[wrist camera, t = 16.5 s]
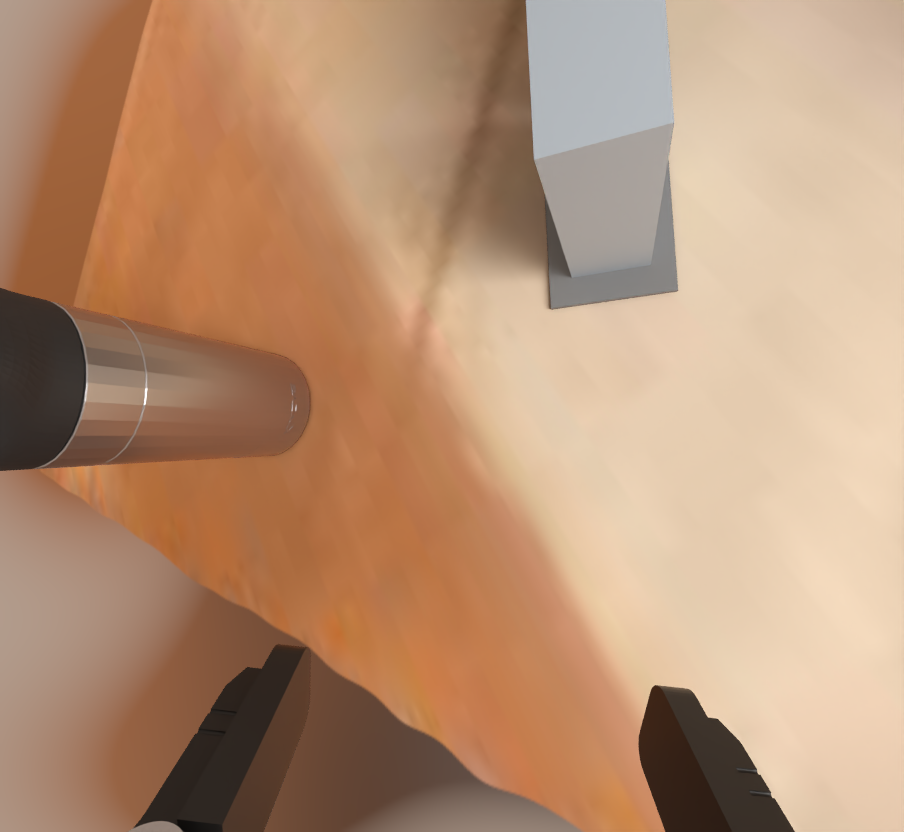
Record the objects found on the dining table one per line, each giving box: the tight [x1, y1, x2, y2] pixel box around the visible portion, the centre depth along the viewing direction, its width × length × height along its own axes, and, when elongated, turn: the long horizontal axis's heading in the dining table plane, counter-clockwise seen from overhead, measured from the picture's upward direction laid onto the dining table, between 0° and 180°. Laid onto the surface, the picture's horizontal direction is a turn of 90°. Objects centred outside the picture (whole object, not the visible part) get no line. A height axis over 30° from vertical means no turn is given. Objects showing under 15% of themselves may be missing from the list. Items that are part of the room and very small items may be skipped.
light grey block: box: [526, 0, 674, 278], centre depth 23 cm, size 5×10×14 cm, turn 2°
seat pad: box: [545, 160, 678, 309], centre depth 30 cm, size 14×8×1 cm, turn 2°
